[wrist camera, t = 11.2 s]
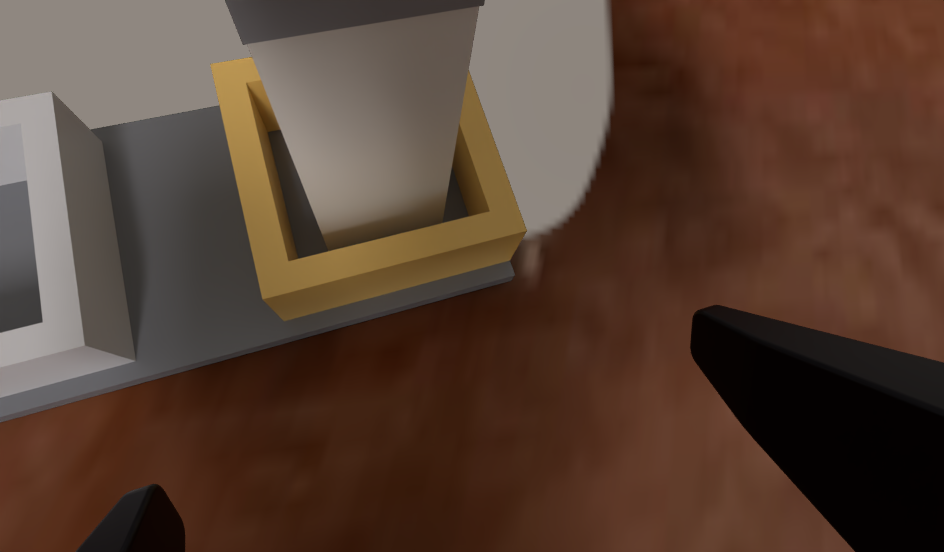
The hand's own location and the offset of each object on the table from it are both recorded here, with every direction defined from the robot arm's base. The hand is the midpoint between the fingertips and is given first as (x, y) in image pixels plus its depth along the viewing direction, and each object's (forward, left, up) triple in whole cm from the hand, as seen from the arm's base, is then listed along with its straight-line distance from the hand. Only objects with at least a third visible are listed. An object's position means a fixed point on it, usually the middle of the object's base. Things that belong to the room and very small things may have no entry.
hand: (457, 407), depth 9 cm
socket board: (+9, -1, -7) cm, 12 cm away
